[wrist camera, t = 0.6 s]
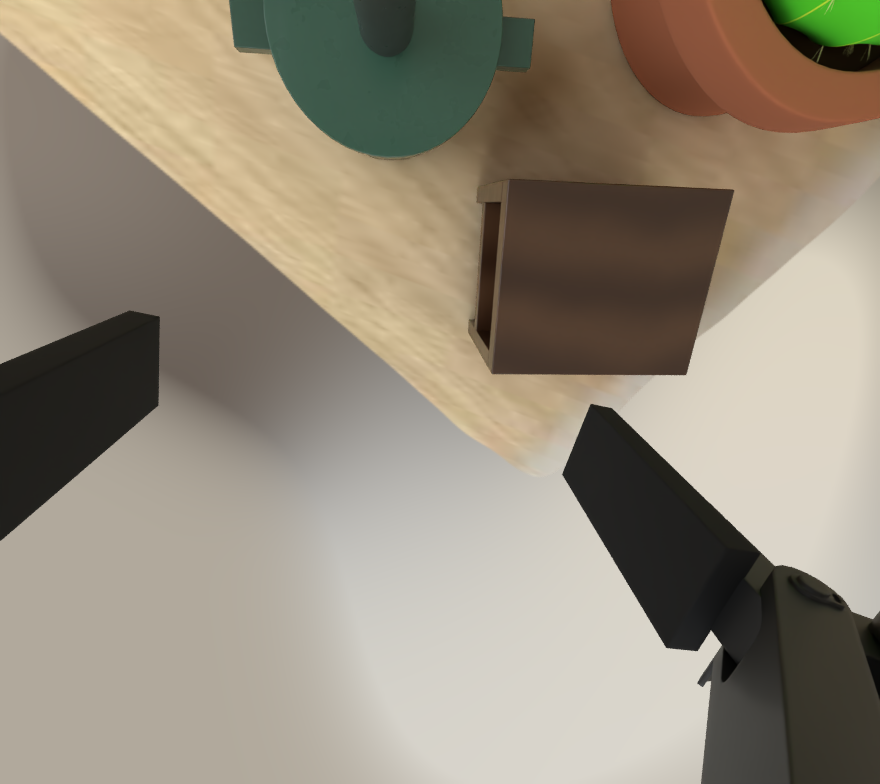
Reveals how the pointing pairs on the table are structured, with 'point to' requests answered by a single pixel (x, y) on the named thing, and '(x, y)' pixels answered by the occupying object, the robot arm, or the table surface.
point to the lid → (386, 67)
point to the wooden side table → (594, 276)
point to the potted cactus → (757, 58)
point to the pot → (254, 40)
